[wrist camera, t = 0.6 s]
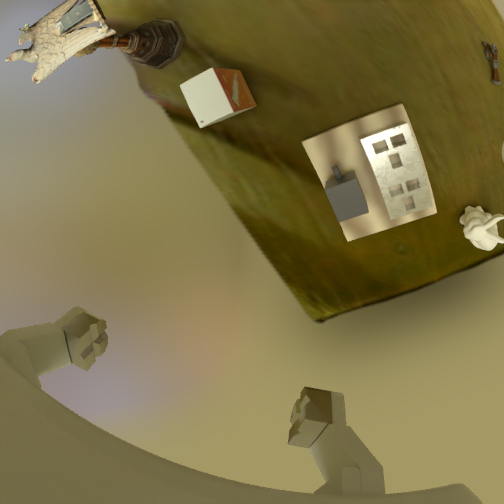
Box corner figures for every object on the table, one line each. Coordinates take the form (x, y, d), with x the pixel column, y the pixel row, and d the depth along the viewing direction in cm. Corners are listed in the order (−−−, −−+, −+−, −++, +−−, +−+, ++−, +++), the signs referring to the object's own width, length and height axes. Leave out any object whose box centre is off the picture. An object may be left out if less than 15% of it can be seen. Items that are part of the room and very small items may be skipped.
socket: (404, 121, 39) (407, 123, 37) (429, 200, 45) (433, 206, 43) (359, 137, 43) (360, 139, 41) (388, 214, 49) (390, 220, 47)
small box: (258, 105, 47) (234, 113, 37) (229, 118, 50) (199, 129, 39) (240, 69, 43) (212, 66, 33) (212, 82, 46) (177, 85, 36)
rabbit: (448, 217, 47) (468, 248, 37) (474, 184, 41) (500, 210, 31) (478, 247, 47) (497, 280, 38) (502, 218, 41) (526, 247, 32)
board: (400, 103, 39) (402, 103, 37) (434, 208, 47) (436, 212, 45) (302, 140, 48) (301, 142, 47) (347, 236, 57) (347, 241, 55)
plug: (348, 155, 45) (350, 165, 40) (366, 197, 49) (369, 212, 44) (320, 166, 48) (318, 177, 43) (339, 207, 52) (338, 222, 46)
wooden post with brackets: (485, 37, 23) (499, 45, 20) (490, 74, 29) (502, 84, 26) (479, 37, 24) (492, 45, 21) (483, 74, 30) (495, 84, 27)
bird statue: (187, -8, 35) (44, -44, 7) (213, 36, 40) (62, 14, 13) (129, 35, 42) (-13, 48, 15) (150, 77, 48) (3, 111, 20)
